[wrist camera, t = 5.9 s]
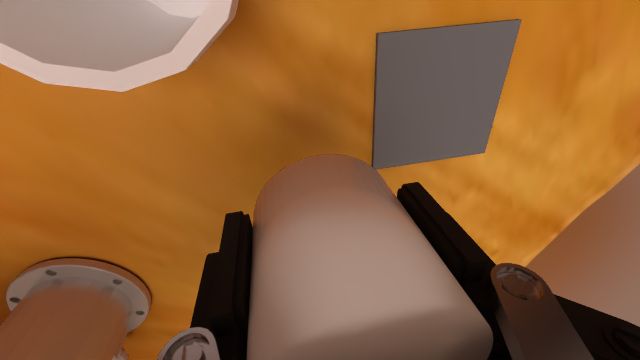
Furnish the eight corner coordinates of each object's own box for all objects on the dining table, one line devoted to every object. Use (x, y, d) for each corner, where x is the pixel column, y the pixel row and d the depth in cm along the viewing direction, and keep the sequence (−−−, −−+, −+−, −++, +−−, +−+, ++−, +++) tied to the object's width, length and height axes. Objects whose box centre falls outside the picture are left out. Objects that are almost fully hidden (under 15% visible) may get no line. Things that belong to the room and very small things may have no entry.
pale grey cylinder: (386, 252, 13) (464, 404, 8) (267, 275, 12) (270, 456, 7) (394, 143, 10) (527, 277, 5) (238, 167, 9) (209, 346, 4)
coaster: (481, 151, 29) (484, 152, 29) (371, 167, 28) (373, 169, 27) (517, 19, 22) (521, 19, 22) (376, 33, 21) (378, 33, 21)
